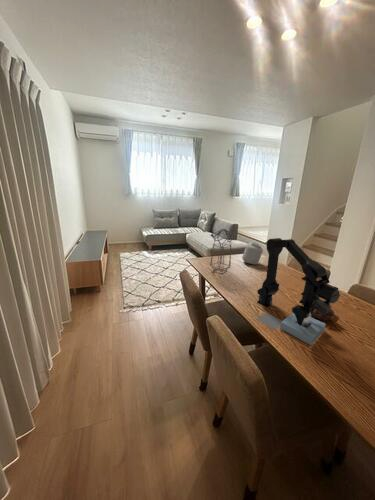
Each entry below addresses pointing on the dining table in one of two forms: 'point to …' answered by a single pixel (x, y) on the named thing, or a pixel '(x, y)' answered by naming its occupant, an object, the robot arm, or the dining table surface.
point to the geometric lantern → (222, 248)
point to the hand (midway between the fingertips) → (303, 321)
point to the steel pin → (306, 321)
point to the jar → (252, 253)
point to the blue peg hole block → (303, 329)
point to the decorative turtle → (328, 315)
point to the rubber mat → (270, 320)
